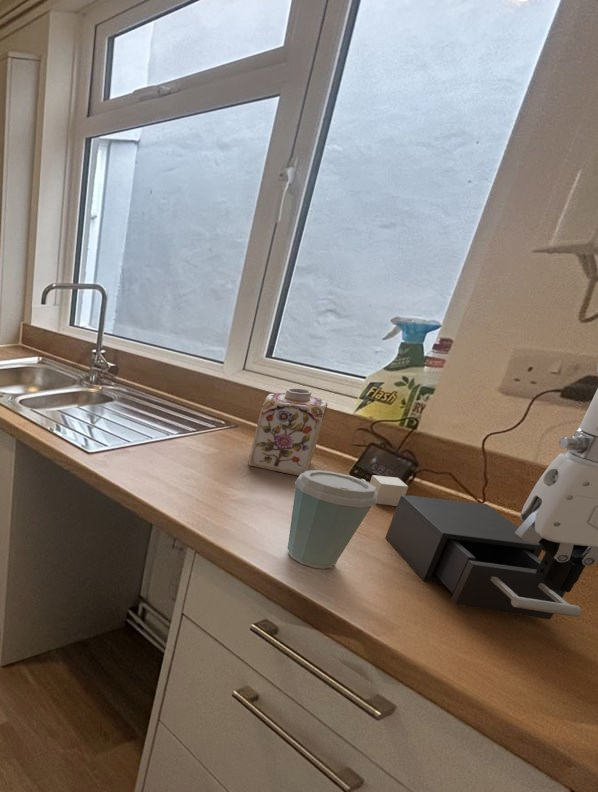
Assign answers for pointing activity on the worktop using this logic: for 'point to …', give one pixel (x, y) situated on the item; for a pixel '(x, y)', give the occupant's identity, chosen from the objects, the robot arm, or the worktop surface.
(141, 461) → the worktop surface
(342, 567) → the worktop surface
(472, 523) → the black cabinet
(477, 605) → the drawer
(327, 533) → the disposable coffee cup
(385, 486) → the block
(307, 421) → the decorative jar
